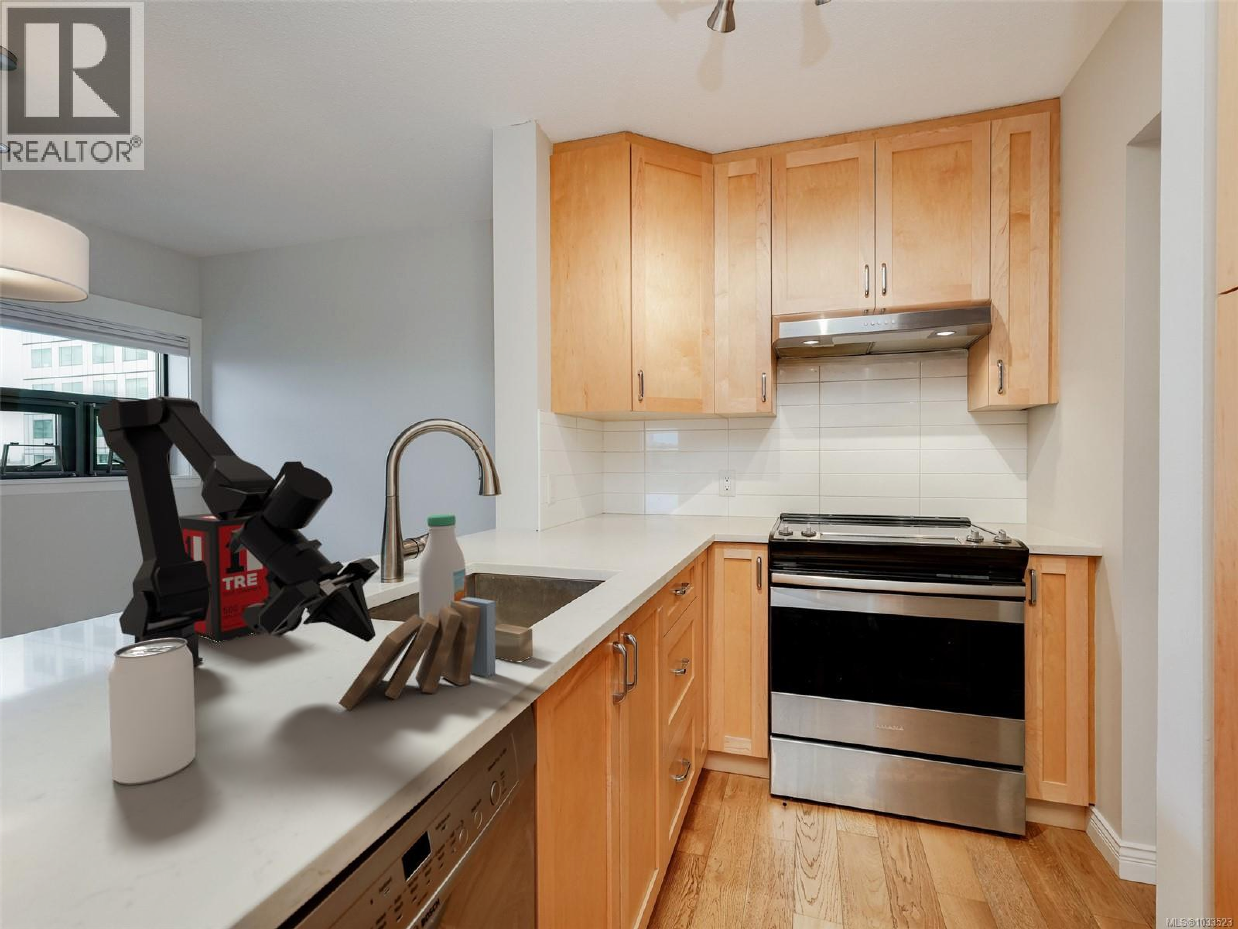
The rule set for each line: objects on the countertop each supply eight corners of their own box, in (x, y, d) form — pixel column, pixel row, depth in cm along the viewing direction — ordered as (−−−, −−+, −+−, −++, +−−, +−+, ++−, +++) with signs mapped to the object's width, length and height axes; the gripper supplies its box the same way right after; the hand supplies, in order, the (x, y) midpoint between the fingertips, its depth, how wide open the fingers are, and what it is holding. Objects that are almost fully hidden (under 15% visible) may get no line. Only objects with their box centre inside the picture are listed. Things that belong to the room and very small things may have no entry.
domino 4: (458, 685, 77) (470, 607, 78) (439, 675, 81) (451, 601, 82) (469, 684, 78) (480, 607, 79) (450, 674, 82) (461, 601, 83)
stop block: (519, 663, 86) (519, 634, 86) (488, 656, 89) (487, 628, 89) (532, 656, 88) (532, 628, 88) (501, 650, 91) (501, 623, 91)
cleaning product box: (173, 628, 106) (170, 516, 106) (228, 616, 114) (225, 512, 113) (218, 642, 97) (214, 521, 97) (273, 628, 105) (270, 516, 105)
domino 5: (487, 677, 81) (487, 603, 81) (460, 670, 83) (460, 599, 83) (495, 673, 82) (495, 601, 82) (468, 667, 84) (468, 597, 84)
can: (143, 753, 61) (140, 637, 61) (210, 750, 62) (206, 635, 61) (93, 789, 55) (89, 659, 54) (168, 785, 55) (164, 656, 55)
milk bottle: (441, 641, 96) (439, 518, 96) (410, 634, 100) (407, 516, 100) (476, 629, 103) (474, 514, 102) (445, 623, 107) (443, 512, 107)
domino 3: (422, 691, 75) (450, 613, 76) (415, 678, 79) (441, 605, 80) (434, 693, 75) (462, 616, 77) (426, 680, 80) (452, 607, 81)
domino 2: (384, 694, 73) (426, 621, 74) (389, 679, 78) (428, 611, 79) (396, 700, 73) (438, 627, 75) (400, 684, 78) (439, 616, 79)
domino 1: (338, 703, 71) (386, 635, 70) (372, 673, 80) (415, 613, 80) (349, 711, 71) (397, 643, 70) (382, 680, 80) (425, 620, 80)
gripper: (289, 581, 85) (365, 657, 85) (186, 616, 67) (283, 715, 66) (340, 526, 85) (418, 603, 84) (251, 546, 66) (350, 645, 66)
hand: (371, 638), depth 75 cm, fingers closed
